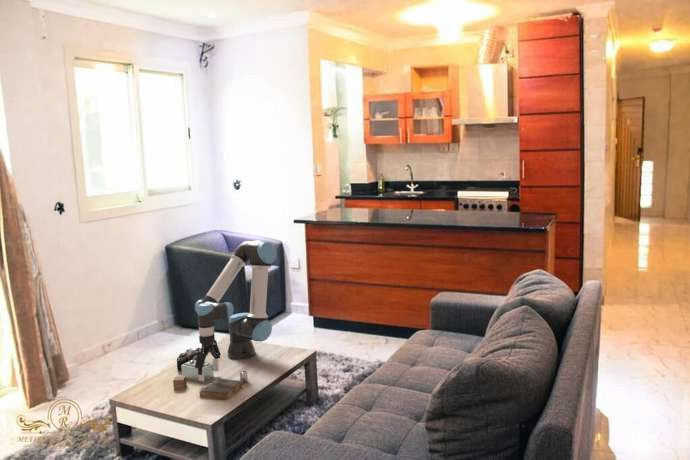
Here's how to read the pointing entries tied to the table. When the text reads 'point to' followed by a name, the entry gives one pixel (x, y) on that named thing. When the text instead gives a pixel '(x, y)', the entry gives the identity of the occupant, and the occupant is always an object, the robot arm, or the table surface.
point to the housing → (196, 370)
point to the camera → (186, 357)
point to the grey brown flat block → (221, 389)
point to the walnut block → (179, 382)
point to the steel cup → (243, 377)
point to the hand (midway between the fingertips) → (209, 375)
